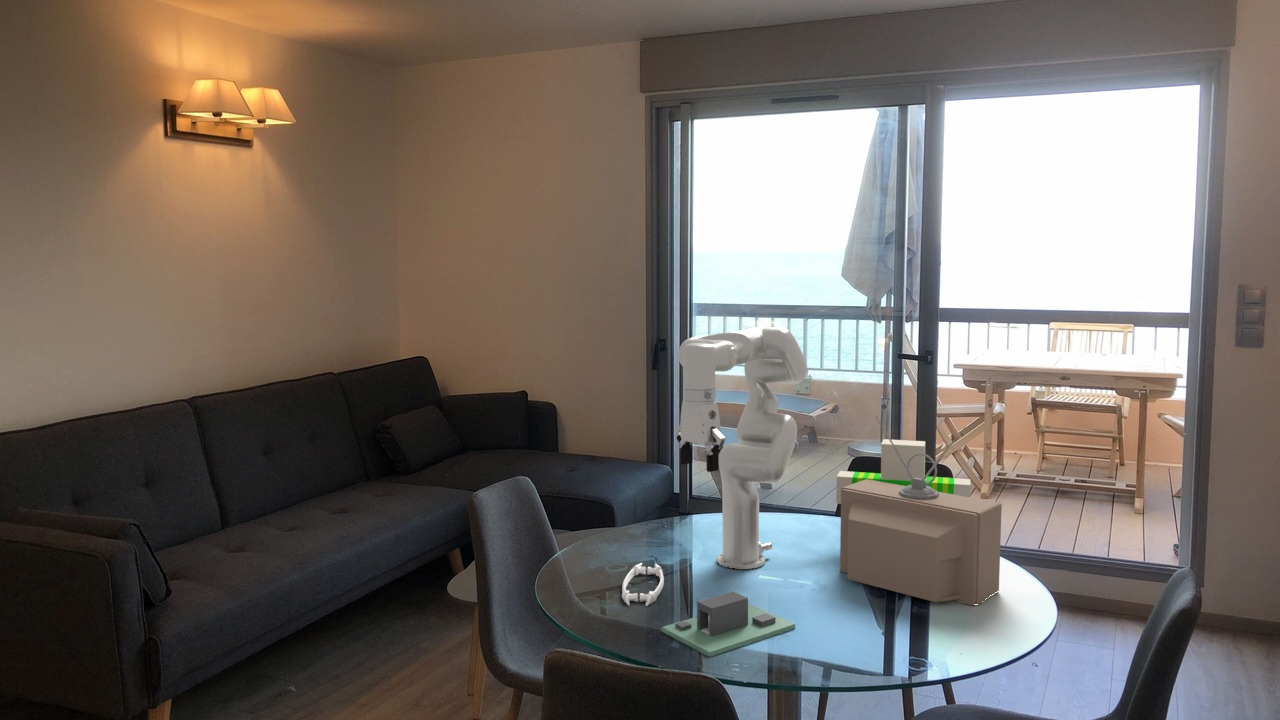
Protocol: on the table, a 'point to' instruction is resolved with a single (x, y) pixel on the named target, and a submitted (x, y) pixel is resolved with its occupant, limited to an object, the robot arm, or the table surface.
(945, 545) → the television
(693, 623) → the board
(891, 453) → the toy
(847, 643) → the table surface
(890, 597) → the table surface
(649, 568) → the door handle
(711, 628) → the block
